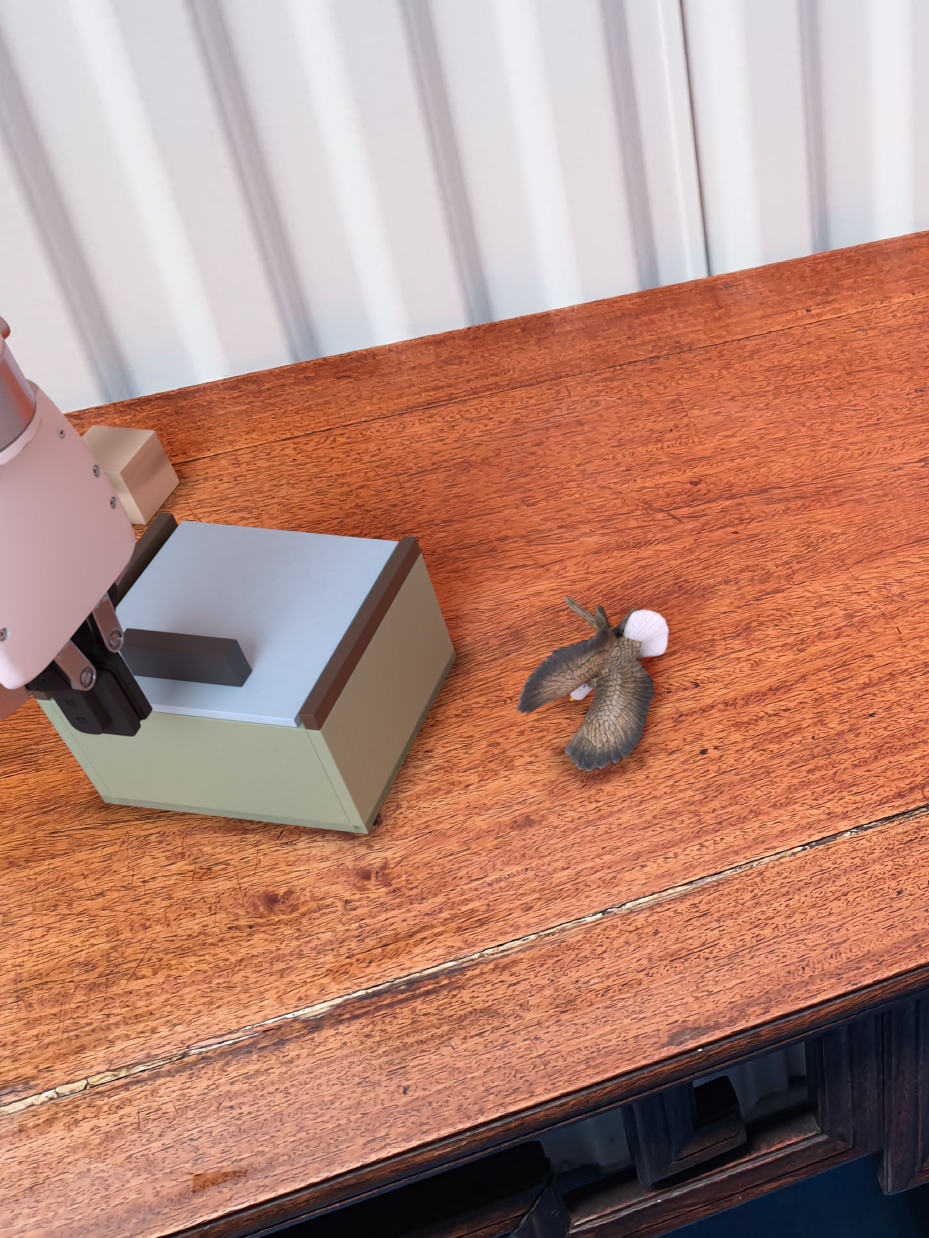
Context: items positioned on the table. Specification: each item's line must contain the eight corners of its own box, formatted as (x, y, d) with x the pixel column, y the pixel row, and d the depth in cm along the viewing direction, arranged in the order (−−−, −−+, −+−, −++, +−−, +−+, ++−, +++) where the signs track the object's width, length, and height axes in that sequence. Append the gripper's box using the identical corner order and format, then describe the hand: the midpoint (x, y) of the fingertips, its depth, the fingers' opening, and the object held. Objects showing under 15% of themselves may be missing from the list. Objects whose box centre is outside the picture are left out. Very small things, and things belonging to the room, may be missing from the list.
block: (83, 519, 96) (54, 466, 92) (119, 476, 99) (92, 424, 96) (146, 525, 95) (119, 472, 92) (180, 482, 98) (155, 430, 95)
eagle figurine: (537, 638, 86) (489, 730, 79) (588, 559, 82) (543, 648, 75) (646, 698, 88) (609, 793, 81) (700, 624, 84) (667, 716, 77)
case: (104, 803, 79) (24, 684, 71) (220, 632, 88) (159, 511, 81) (368, 834, 77) (312, 716, 70) (457, 656, 86) (416, 536, 79)
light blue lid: (55, 700, 72) (29, 661, 70) (186, 527, 82) (166, 488, 79) (297, 727, 71) (278, 688, 69) (401, 548, 80) (387, 509, 78)
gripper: (-50, 297, 59) (125, 605, 72) (-313, 528, 49) (-53, 839, 62) (114, 310, 58) (261, 619, 72) (-117, 547, 48) (104, 858, 61)
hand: (115, 720), depth 67 cm, fingers closed
